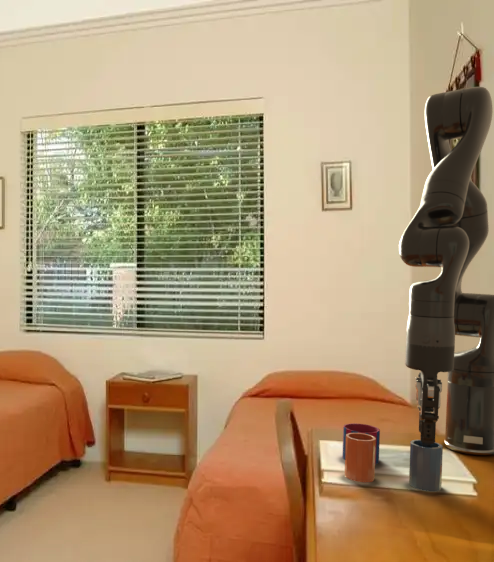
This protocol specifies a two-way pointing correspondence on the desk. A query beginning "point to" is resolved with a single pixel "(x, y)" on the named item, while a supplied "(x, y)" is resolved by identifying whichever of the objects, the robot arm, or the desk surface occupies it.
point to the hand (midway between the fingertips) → (426, 437)
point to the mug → (366, 430)
